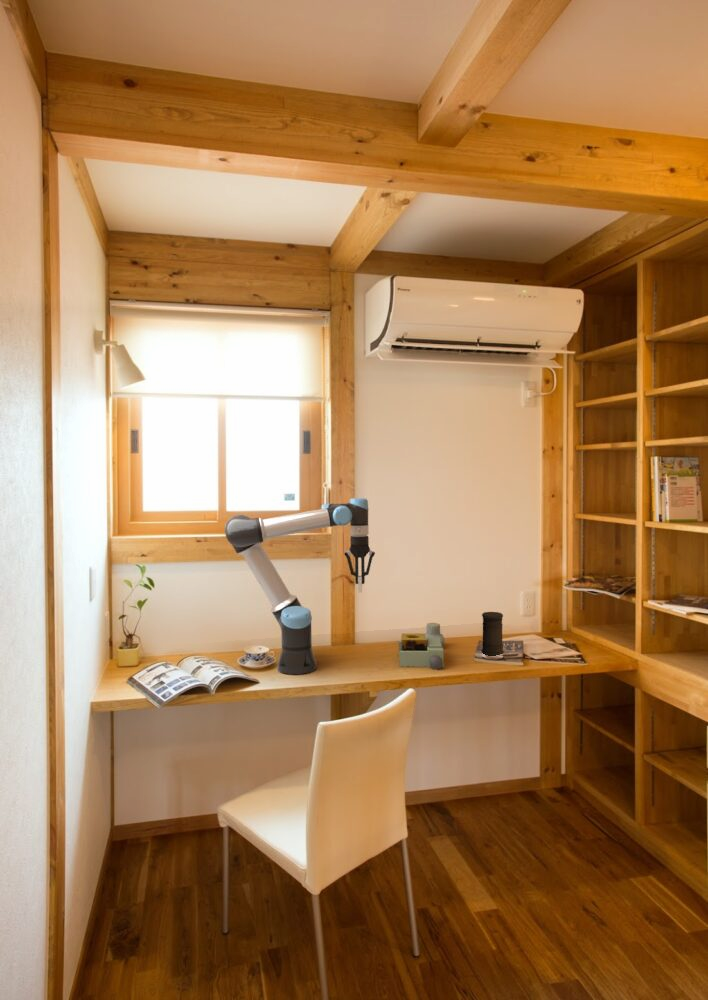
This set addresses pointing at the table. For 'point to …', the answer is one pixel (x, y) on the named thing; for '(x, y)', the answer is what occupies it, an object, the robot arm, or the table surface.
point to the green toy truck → (423, 655)
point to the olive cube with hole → (413, 642)
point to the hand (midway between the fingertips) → (360, 591)
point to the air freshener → (434, 632)
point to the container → (492, 633)
